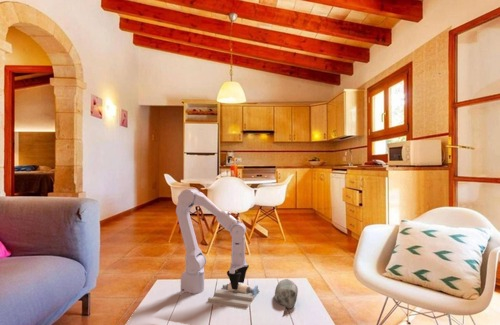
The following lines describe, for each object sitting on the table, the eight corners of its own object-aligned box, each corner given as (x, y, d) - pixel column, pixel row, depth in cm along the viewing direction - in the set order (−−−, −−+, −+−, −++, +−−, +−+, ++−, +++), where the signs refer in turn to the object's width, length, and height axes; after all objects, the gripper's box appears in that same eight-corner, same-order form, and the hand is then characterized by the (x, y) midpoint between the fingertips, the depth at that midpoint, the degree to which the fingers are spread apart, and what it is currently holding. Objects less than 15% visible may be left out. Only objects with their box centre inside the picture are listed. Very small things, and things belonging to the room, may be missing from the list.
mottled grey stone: (302, 303, 110) (290, 277, 113) (278, 314, 110) (267, 287, 114) (304, 298, 122) (293, 274, 126) (283, 307, 123) (273, 283, 127)
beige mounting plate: (206, 307, 114) (206, 295, 114) (224, 289, 131) (224, 279, 131) (245, 313, 109) (246, 301, 109) (259, 294, 126) (260, 283, 126)
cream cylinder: (225, 292, 123) (225, 284, 123) (228, 289, 127) (228, 281, 127) (248, 296, 120) (248, 287, 120) (251, 293, 123) (251, 284, 124)
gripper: (241, 258, 116) (241, 293, 115) (252, 249, 130) (252, 280, 129) (224, 256, 118) (224, 291, 118) (237, 247, 132) (237, 278, 131)
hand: (238, 285), depth 124 cm, fingers open, 7 cm apart
